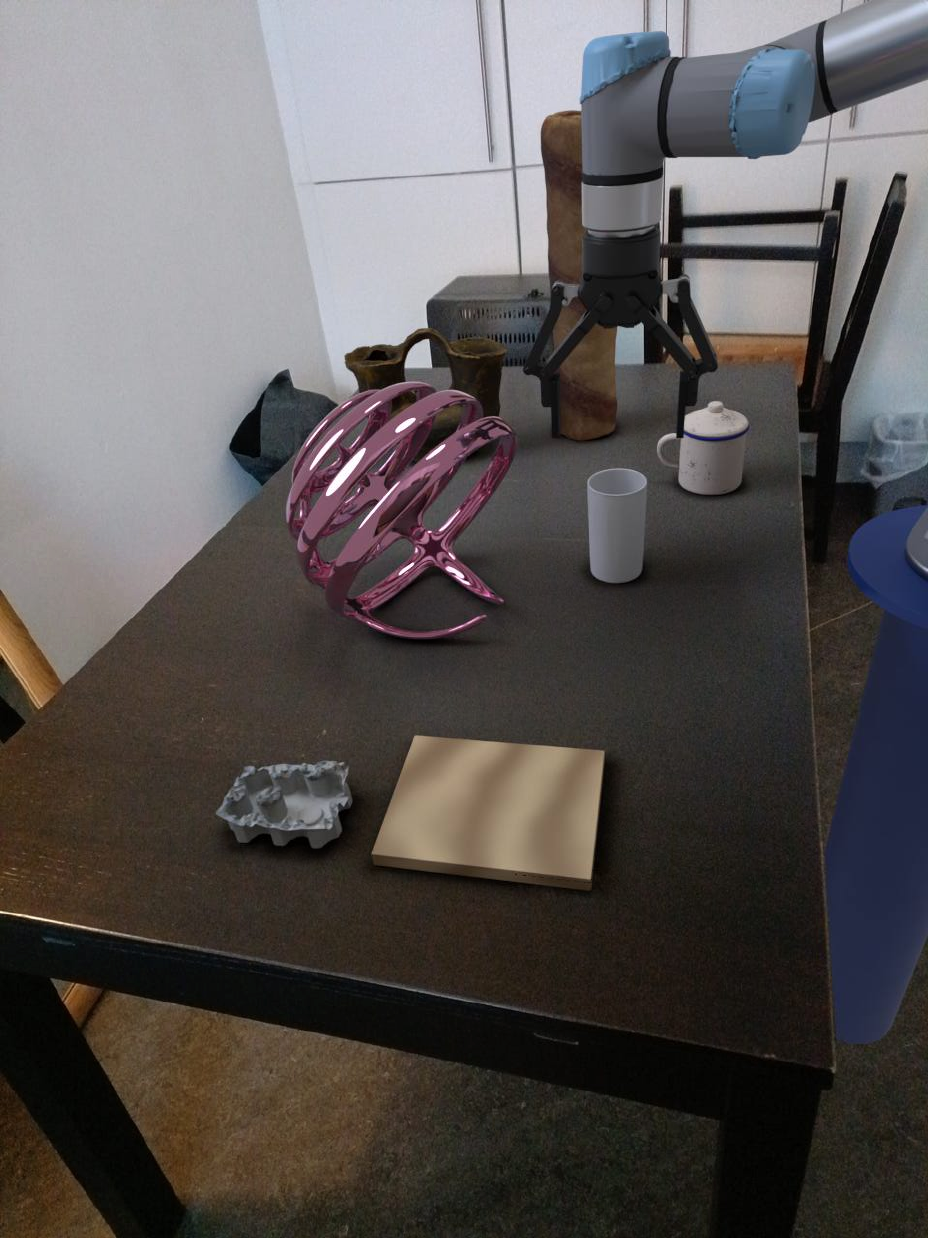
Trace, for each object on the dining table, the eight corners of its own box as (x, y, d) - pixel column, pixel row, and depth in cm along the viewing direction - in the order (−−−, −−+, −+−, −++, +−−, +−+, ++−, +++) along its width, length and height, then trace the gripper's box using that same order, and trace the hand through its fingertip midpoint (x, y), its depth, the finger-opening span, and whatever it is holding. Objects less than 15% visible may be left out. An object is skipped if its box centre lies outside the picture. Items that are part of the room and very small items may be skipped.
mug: (641, 587, 97) (644, 496, 90) (584, 583, 99) (583, 494, 92) (648, 543, 105) (651, 456, 98) (596, 540, 107) (595, 455, 100)
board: (604, 762, 75) (604, 750, 74) (591, 891, 64) (591, 879, 63) (416, 746, 79) (414, 735, 79) (373, 865, 68) (370, 854, 68)
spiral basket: (628, 458, 81) (433, 281, 84) (432, 642, 71) (219, 434, 74) (552, 569, 107) (405, 430, 110) (400, 715, 97) (244, 558, 100)
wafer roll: (551, 418, 140) (538, 112, 114) (613, 413, 140) (615, 103, 113) (553, 444, 132) (541, 119, 106) (620, 438, 131) (624, 109, 105)
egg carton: (361, 791, 75) (353, 760, 73) (333, 858, 70) (323, 826, 67) (255, 779, 78) (245, 748, 76) (219, 842, 72) (206, 811, 70)
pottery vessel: (358, 473, 131) (334, 348, 119) (366, 444, 139) (344, 326, 128) (515, 460, 129) (506, 332, 117) (513, 432, 137) (505, 310, 126)
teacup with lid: (740, 467, 119) (748, 389, 112) (745, 497, 112) (754, 415, 105) (655, 467, 122) (658, 391, 115) (655, 497, 115) (658, 417, 108)
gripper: (753, 212, 80) (732, 419, 92) (501, 226, 85) (512, 419, 98) (759, 229, 74) (735, 448, 86) (487, 243, 79) (502, 446, 92)
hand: (617, 433), depth 92 cm, fingers open, 13 cm apart
